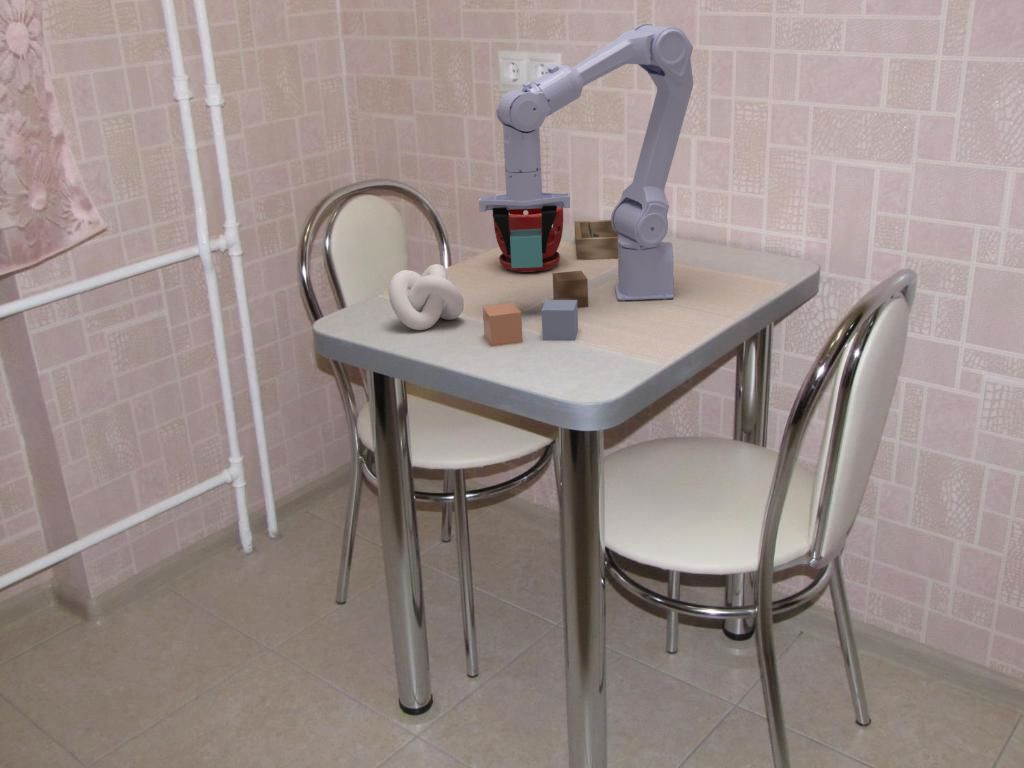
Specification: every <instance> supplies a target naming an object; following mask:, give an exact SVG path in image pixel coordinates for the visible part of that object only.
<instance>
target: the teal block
mask: <svg viewBox="0 0 1024 768" xmlns="http://www.w3.org/2000/svg"><path fill="white" fill-rule="evenodd" d="M510 247H511V267H512V268H531V267H542V235H541V229H523V230H511V233H510Z"/></svg>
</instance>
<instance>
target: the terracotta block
mask: <svg viewBox="0 0 1024 768" xmlns="http://www.w3.org/2000/svg"><path fill="white" fill-rule="evenodd" d="M482 319H483V322H482V323H483V336H484V338H485V339H486V341H487V343H488V344H489V345H490V347H497V346H504V345H513V344H519V343H520V344H521V343H523V342H524V341H523V323H522V319H523V318H522V311H521V310H520V308H518V307H517V305H516V304H515V303H514V302H508V303H507V302H506V303H499V304H491V305H482Z"/></svg>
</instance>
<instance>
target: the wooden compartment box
mask: <svg viewBox="0 0 1024 768" xmlns="http://www.w3.org/2000/svg"><path fill="white" fill-rule="evenodd" d="M589 221H590V226H591V228H592V230H593V231H592V234H593V233H595V234H596V235H597V234H598V235H599V238H591V235H590V231H589V228H588V223H589ZM593 236H594V235H593ZM574 244H576V246H575V253H576V254H577V255H576V259H589V260H603V259H602V258H608V259H607V260H611V259H610V258H614V259H618V233H617V232H616V231H615V230H614V229H613V227H612V224H611V219H606V220H605V219H604V220H583V221H582V220H581V221H574Z"/></svg>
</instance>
